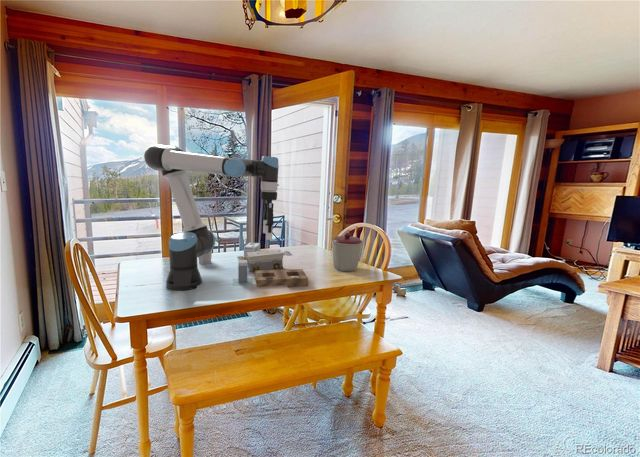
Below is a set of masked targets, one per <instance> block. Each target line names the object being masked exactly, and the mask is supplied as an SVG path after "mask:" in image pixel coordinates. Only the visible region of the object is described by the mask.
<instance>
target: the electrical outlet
mask: <svg viewBox="0 0 640 457" xmlns="http://www.w3.org/2000/svg"><path fill="white" fill-rule="evenodd" d="M284 256H290V257H291V256H293V253H291V250H290V251H289V250H285V251H282V250H281V249H280V248H277V249H268V250H260V251H256V252H247V256H244V255H239V256H236V258H237V259H238V260H247V270H248V272H250V273H253V272H255V271H258V270H284V268H283V267H284V262H283V259H284Z"/></svg>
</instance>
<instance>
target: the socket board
mask: <svg viewBox="0 0 640 457" xmlns="http://www.w3.org/2000/svg"><path fill="white" fill-rule="evenodd" d="M254 279H255V286H256V287H257V288H258V287H274V286H275V287H277V286H287V288H299V287H308V286H309V278H308V276H307V274H306V272H305V271H304V270H303V268H299V269H298V268H295V269H292V268H290V269H282V270H258V271H254Z"/></svg>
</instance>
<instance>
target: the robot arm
mask: <svg viewBox="0 0 640 457" xmlns="http://www.w3.org/2000/svg"><path fill="white" fill-rule="evenodd" d="M143 157H144V162H145V164H146V165H147V166H148V168H150V169H152V170H154V171H159V172H161V174H162V177H163V179H166V180H167V181H168V184H169V186H170V190H171V193H172V196H173V199H174V201H175V205H176V207H177V210H178V212H179V217H180V219H181V222H182V225H183V230H182V232H178V233H174V234H172V235H171V236H170V237H169V238H168V239H169V240H168V254H169V272H168V274H167V277H166V281H165V285H166V286H165V287H166V288H167V289H169V290H172V291H189V290H194V289H196V288H197V287H198V286H199V285H201V284H202V282H203V279H202V278H203V277H202V276H201V273H200V270H199V267H198V266H199V265H198V264H199V263H198V257H200V256H201V255H203V254H207V253H208V252H209V251H211V250H212V251H213V249H214V247H215V245H216V236H215V234H214V232H212V231H210V230H209V227H208V225H207V224H206V223H203V220H202V218H201V215H200V211H199V208H198V205H197V203H196V200H195V197H194V193H193V191H192V190H193V189H192V188H191V185H190V181H189V179H188V176H187V175H188V173H189V172H198V173H205V174H212V175H213V174H214V175H221V176H229V177H232V178H241V177H242V178H243V177H244V178H245V177H246V178H247V177H251V178H252V177H253V178H260V190H261V191H260V200H264V201H263V202H264V203H263V214H262V218H263V219H262V220H263V221H262V222H263V223H262V224H263V225H262V234H265V240H266V241H267V240H268V241H271V240H273V233H274V232H273V230H274V227H273V226H274V203H273V201H277V199H278V187H279V186H280V185H279V183H278V182H279V181H278V180H279V158H278V157H276V156H268V155H267V156H265V155H264V156H261V160H259V159H258V160H257V159H256V160H255V159H247V158H246V159H245V158H236V157H226V156H217V155H211V154H210V155H209V154H201V153H192V152H186V151H185V149H183V148H181V147H178V146H177V145H165V144H159V143H158V144H152V145H149V146H148V147H147V148H146V150H145V152H144V154H143Z"/></svg>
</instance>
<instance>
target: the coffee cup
mask: <svg viewBox="0 0 640 457" xmlns="http://www.w3.org/2000/svg"><path fill="white" fill-rule="evenodd" d="M212 251H213V249H212V250H211V251H209V252H208V253H207V254H203V255H201V256H200V257H197V260H198V264H200V265H208V264H211V263H212V253H213V252H212Z"/></svg>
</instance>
